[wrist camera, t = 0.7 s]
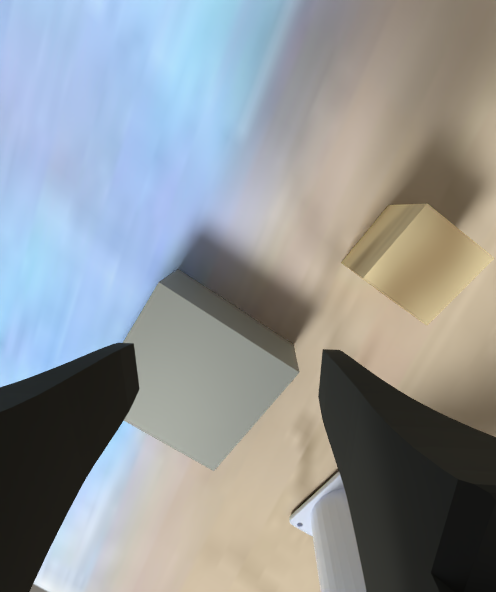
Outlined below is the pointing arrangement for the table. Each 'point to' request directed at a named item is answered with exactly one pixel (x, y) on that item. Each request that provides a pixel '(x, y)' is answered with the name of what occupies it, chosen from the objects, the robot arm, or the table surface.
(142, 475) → the table surface
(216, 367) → the gray block
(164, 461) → the table surface
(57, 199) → the table surface
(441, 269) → the oak cube
